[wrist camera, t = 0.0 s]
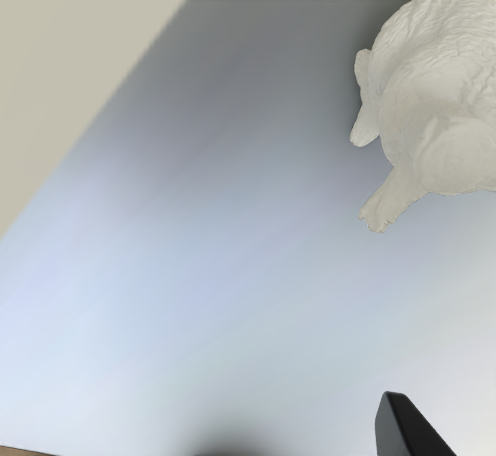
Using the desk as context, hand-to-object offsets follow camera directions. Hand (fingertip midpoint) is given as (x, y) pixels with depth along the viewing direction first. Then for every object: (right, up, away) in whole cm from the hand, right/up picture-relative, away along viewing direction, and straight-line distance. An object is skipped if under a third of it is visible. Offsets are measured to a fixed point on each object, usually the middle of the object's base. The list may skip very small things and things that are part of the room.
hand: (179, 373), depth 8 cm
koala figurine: (+9, +10, +10) cm, 17 cm away
